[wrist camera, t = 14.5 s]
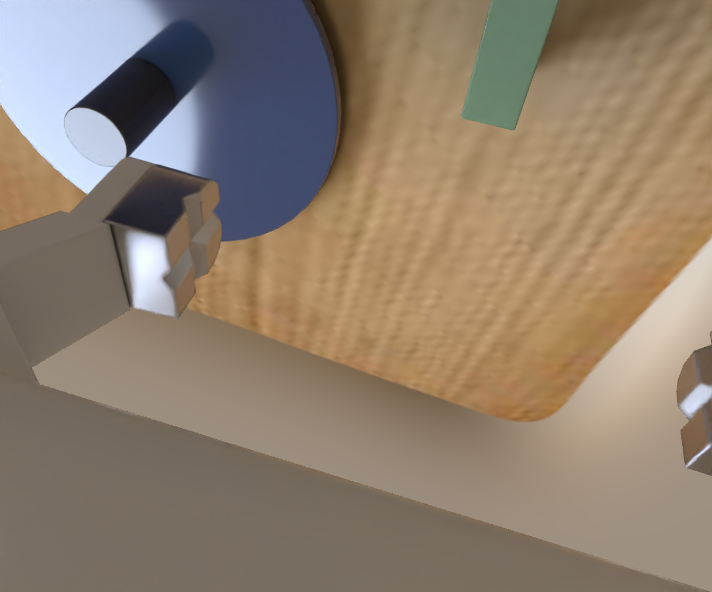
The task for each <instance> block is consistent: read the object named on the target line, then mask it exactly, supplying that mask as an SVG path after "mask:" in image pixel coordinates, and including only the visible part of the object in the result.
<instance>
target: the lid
mask: <svg viewBox="0 0 712 592" xmlns="http://www.w3.org/2000/svg"><path fill="white" fill-rule="evenodd" d="M0 105H1V106H2V108H3V109H4V111H5V112H6V114H7V115H8V116H9V118H10V119H11V120H12V122H13V123H14V124H15V125H16V127H17V128H18V129H19V131H20V132H21V133H22V134H23V136H24V137H25V138H26V139H27V140H28V141H29V142H30V144H31V145H32V146H33V147H34V148H35V149H36V150H37V151H38V152H39V153H40V154H41V155H42V156H43V157H44V158H45V159H46V160H47V161H48V162H49V163H50V164H51V165H52V166H53V167H54V168H55V169H56V170H57V171H58V172H60V173H61V174H62V175H63V176H64V177H65V178H67V179H68V180H69V181H70V182H71V183H73V184H74V185H75V186H77V187H78V188H79V189H81V190H82V191H83V192H85V193H86V194H88V193H89V192H90V191H91V190H92V189H93V188H94V187H95V186H96V185H97V184H98V183H99V182H100V181H101V180H102V179H103V178H104V177H105V176H106V175H107V174H108V173H109V172H110V171H111V170H112V169H113V168H114V167H115V165H116V164H117V163H118V162H119V161H120V160H122V159H124V158H127V157H133V158H137V159H140V160H144V161H147V162H151V163H154V164H157V165H158V164H159V165H163V166H166V167H170V168H173V169H177V170H180V171H183V172H187V173H190V174H194V175H197V176H201V177H204V178H207V179H211V180H214V181H215V182H216V183H217V184H218V188H219V198H220V202H219V203H218V205H217V206H216V207H215V209H214V210H213V211H214V213H215V214H216V215H217V217H218V218H219V220H220V221H221V228H222V235H221V241H235V240H243V239H248V238H252V237H256V236H260V235H263V234H266V233H268V232H270V231H273V230H275V229H277V228H279V227H281V226H283V225H284V224H286V223H287V222H289V221H291V220H292V219H294V218H295V217H296V216H297V215H298V214H299V213H300V212H302V211H303V210H304V209H305V208H306V207H307V206H308V205H309V203H310V202H311V201H312V200H313V198H314V197H315V196H316V195H317V193H318V192H319V190H320V188H321V186H322V184H323V183H324V181H325V179H326V177H327V175H328V173H329V171H330V169H331V166H332V163H333V160H334V157H335V154H336V151H337V147H338V141H339V135H340V130H341V97H340V88H339V79H338V74H337V70H336V66H335V62H334V58H333V53H332V50H331V47H330V44H329V41H328V39H327V36H326V33H325V31H324V28H323V25H322V22H321V20H320V18H319V16H318V14H317V12H316V10H315V8H314V6H313V4H312V2H311V0H0Z"/></svg>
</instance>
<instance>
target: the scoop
mask: <svg viewBox="0 0 712 592" xmlns="http://www.w3.org/2000/svg"><path fill="white" fill-rule="evenodd" d="M558 3H559V0H492V1H491V5H490V9H489V12H488V16H487V20H486V24H485V28H484V31H483V35H482V39H481V43H480V46H479V50H478V54H477V58H476V62H475V65H474V69H473V73H472V77H471V80H470V84H469V88H468V92H467V96H466V99H465V103H464V107H463V111H462V114H461V118H464V119H468V120H472V121H476V122H480V123H484V124H489V125H493V126H497V127H501V128H505V129H510V130H515V128H516V125H517V122H518V119H519V116H520V113H521V110H522V107H523V104H524V102H525V99H526V96H527V93H528V90H529V87H530V84H531V81H532V78H533V75H534V73H535V70H536V67H537V64H538V61H539V58H540V55H541V52H542V49H543V46H544V43H545V41H546V38H547V35H548V32H549V29H550V26H551V23H552V20H553V17H554V14H555V12H556V9H557V6H558Z"/></svg>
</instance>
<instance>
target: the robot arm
mask: <svg viewBox="0 0 712 592" xmlns="http://www.w3.org/2000/svg"><path fill="white" fill-rule="evenodd" d="M219 202H220V198H219V188H218V184H217V183H216V182H215V181H214V180H211V179H207V178H204V177H201V176H197V175H194V174H190V173H187V172H183V171H180V170H177V169H173V168H170V167H166V166H163V165H159V164H158V165H157V164H154V163H151V162H147V161H144V160H140V159H137V158H133V157H127V158H124V159H122V160H120V161H119V162H118V163H117V164H116V165H115V167H114V168H113V169H112V170H111V171H110V172H109V173H108V174H107V175H106V176H105V177H104V178H103V179H102V180H101V181H100V182H99V183H98V184H97V185H96V186H95V187H94V188H93V189H92V190H91V191H90V192H89V193H88V194H87V195H86V196H85V197H84V198H83V199H82V201H81V202H80V203H79V204H78V205H77V206H76V207H75V208H74V209H73V210H72V211H71V212H70V213H67V212H63V211H59V212H56V213H53V214H50V215H47V216H44V217H41V218H38V219H35V220H32V221H29V222H26V223H23V224H20V225H17V226H14V227H11V228H8V229H5V230H2V231H0V592H709V591H706V590H703V589H700V588H696V587H693V586H690V585H687V584H683V583H680V582H677V581H674V580H671V579H667V578H664V577H661V576H658V575H654V574H651V573H648V572H645V571H641V570H638V569H635V568H631V567H628V566H625V565H622V564H619V563H615V562H612V561H609V560H606V559H602V558H599V557H596V556H593V555H589V554H586V553H583V552H580V551H576V550H573V549H570V548H567V547H563V546H560V545H557V544H554V543H551V542H547V541H544V540H541V539H538V538H535V537H531V536H528V535H525V534H522V533H518V532H515V531H512V530H509V529H505V528H502V527H499V526H495V525H492V524H489V523H486V522H482V521H480V520H476V519H473V518H469V517H467V516H463V515H460V514H457V513H454V512H450V511H447V510H444V509H441V508H437V507H434V506H431V505H428V504H424V503H421V502H418V501H415V500H412V499H408V498H405V497H402V496H399V495H395V494H392V493H389V492H386V491H382V490H379V489H376V488H372V487H369V486H366V485H363V484H360V483H357V482H353V481H350V480H347V479H344V478H340V477H337V476H334V475H331V474H327V473H324V472H321V471H318V470H315V469H311V468H308V467H305V466H302V465H298V464H295V463H292V462H289V461H285V460H282V459H279V458H275V457H272V456H269V455H266V454H263V453H260V452H256V451H253V450H250V449H247V448H243V447H240V446H237V445H234V444H230V443H227V442H224V441H221V440H217V439H214V438H211V437H208V436H205V435H201V434H198V433H195V432H192V431H188V430H185V429H182V428H179V427H175V426H172V425H169V424H166V423H163V422H159V421H156V420H153V419H150V418H147V417H143V416H140V415H137V414H134V413H130V412H127V411H124V410H121V409H118V408H114V407H111V406H108V405H105V404H101V403H98V402H95V401H92V400H88V399H85V398H82V397H79V396H76V395H72V394H69V393H66V392H63V391H59V390H56V389H53V388H50V387H46V386H43V385H40V384H39V382H38V380H37V378H36V376H35V374H34V371H33V369H32V367H33V366H35V365H36V364H38V363H40V362H42V361H44V360H45V359H47V358H48V357H50V356H52V355H54V354H55V353H57V352H58V351H61V350H62V349H64V348H66V347H67V346H69V345H71V344H72V343H74V342H76V341H77V340H79V339H81V338H83V337H84V336H86V335H88V334H90V333H91V332H93V331H95V330H96V329H98V328H100V327H101V326H103V325H105V324H107V323H108V322H110V321H112V320H113V319H115V318H117V317H119V316H120V315H122V314H124V313H125V312H127V311H129V310H130V307H132V308H136V309H139V310H143V311H147V312H151V313H155V314H158V315H162V316H166V317H170V318H174V319H179V317H180V316H181V314H182V313H183V311H184V310H185V308H186V307H187V305H188V303H189V302H190V300H191V299H192V297H193V296H194V294H195V293H196V287H195V279H197V278H199V277H201V276H204V275H206V274H208V272H209V270H210V269H211V267H212V265H213V264H214V262H215V260H216V257H217V254H218V251H219V248H220V244H221V235H222V228H221V221H220V220H219V218H218V217H217V215H216V214H215V213H214V211H213V210H214V209H215V207H216V206H217V205H218V203H219ZM710 336H711V343H712V331H711V332H710ZM677 403H678V407H679V408H680V409H681V411H682V412H683V414H684V415H685V416H686V417H687V419H688V420H689V422H688V423H687V424H686V425H685V426H684V427H683V428H682V429H681V437H682V446H683V453H684V462H685V467H686V468H689V469H692V470H695V471H699V472H702V473H705V474H708V475H711V476H712V345H710V346H707V347H704V348H701V349H698V350H695V351H694V352H693V353H692V355H691V356H690V357H689V358H688V360H687V361H686V362H685V363H684V365H683V368H682V371H681V373H680V376H679V379H678V385H677Z"/></svg>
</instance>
